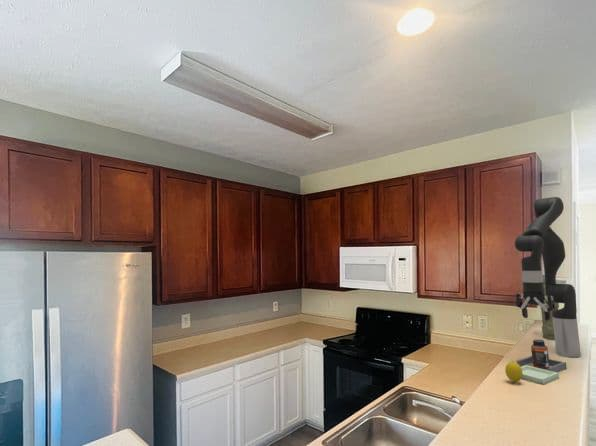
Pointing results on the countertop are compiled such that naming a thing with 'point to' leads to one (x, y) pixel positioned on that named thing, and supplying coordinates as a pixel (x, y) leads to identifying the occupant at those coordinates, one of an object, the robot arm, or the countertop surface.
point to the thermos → (548, 325)
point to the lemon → (513, 371)
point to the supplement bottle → (540, 354)
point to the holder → (555, 365)
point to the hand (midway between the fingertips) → (536, 319)
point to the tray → (538, 375)
